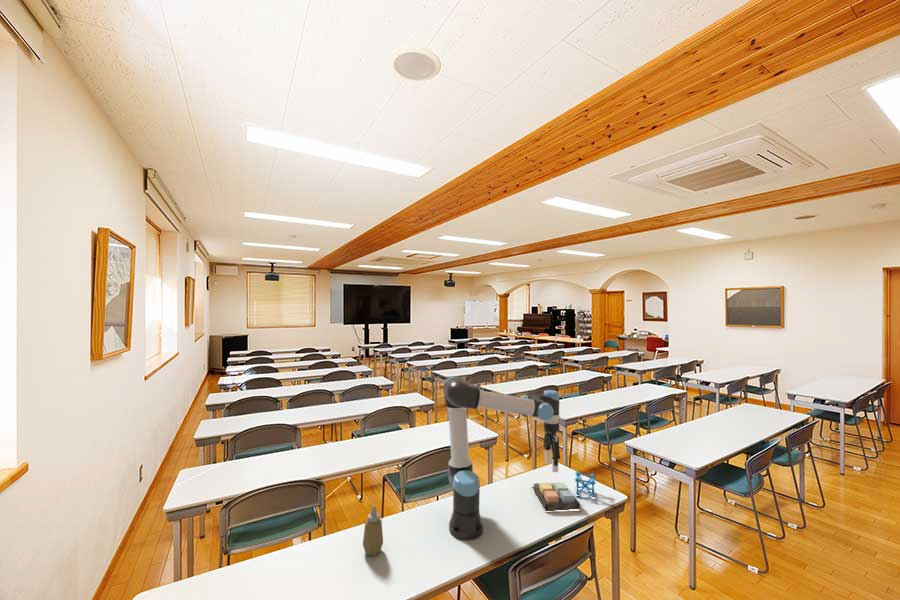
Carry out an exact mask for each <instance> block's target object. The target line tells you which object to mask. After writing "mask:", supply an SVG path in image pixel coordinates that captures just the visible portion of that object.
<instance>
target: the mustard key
mask: <svg viewBox="0 0 900 600" xmlns="http://www.w3.org/2000/svg"><path fill="white" fill-rule="evenodd" d="M546 483H547V482H546ZM550 483H551V482H548V483H547V484H539V490H540V492H541V493H542V495H544V491H553V488H552V486H551V485H550Z"/></svg>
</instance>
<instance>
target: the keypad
mask: <svg viewBox="0 0 900 600" xmlns="http://www.w3.org/2000/svg"><path fill="white" fill-rule="evenodd" d="M549 483H550V485H551V486H552V488H553V491H555V490H554V483H555V482H549ZM539 484H547V482H541V483H537V482H536V483H533V486H531V489H532V488H533V490H534V492H535V494H536V496H537V497H538V499H539V501H540V503H541V504H542V506H543V508H544V509H545V511H555V510H569V509H580V510H581V507H580V505H581V504H580V501H578V499H577V497H575V502H563V501H562V499H561V498H560V494H558V496H559V503H548V502H547V501H546V499H545V498H544V495H542V493H541V492H540V490H539ZM569 490H570V489H568V491H569ZM555 492H556V491H555ZM535 494H534V495H535ZM536 496H535V497H536ZM538 499H537V500H538ZM539 501H538V502H539ZM540 503H539V504H540ZM541 504H540V505H541ZM542 506H541V507H542ZM543 508H542V509H543ZM544 509H543V510H544ZM545 511H544V512H545Z"/></svg>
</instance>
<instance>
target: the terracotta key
mask: <svg viewBox="0 0 900 600" xmlns="http://www.w3.org/2000/svg"><path fill="white" fill-rule="evenodd" d="M544 498H545V499H546V501H547V502H548V503H559V496H558V494H557V493H556V492H555V491H544Z"/></svg>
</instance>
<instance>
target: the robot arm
mask: <svg viewBox="0 0 900 600" xmlns="http://www.w3.org/2000/svg"><path fill="white" fill-rule="evenodd" d="M442 386H443V387H442V392H443V395H444V406H445V408H446V409H448V423H449V424H448V425H449V441H450V457H451V458H450V459H449V460H448V471H447V478H448V482H449V484H450V489H451V491H452V495H453V496H452V497H453V499H452V500H453V501H452V503H453V504H452V505H453V506H452V507H453V508H452V509H453V510H452V513H451V516H450V520H449V523H448V530H449V533H450V535H451V536H453V537H455V538H456V539H459V540H465V541H471V540H476V539H478V538H479V537H480V536H482V535H483V533H484V522H483V519H482V516H481V513H480V491H481V490H480V488H481V484H480V483H481V482H480V478H479V475H478V474H477V473H475V472H474V469H473V468H474V467H473V466H474V465H473V460H472V459H471V458H470V455H469V454H470V453H469V439H468V438H469V436H468V420H467V409H470V410H478V409H484V410H485V409H487V410H492V411H497V412H498V411H499V412H504V413H510V414H517V415H523V416H529V417H534V418H539V419H540V420H543V421H544V422H543V430H544V438H543V447H544V452H545V454H544V458H545V459H544V461H545V462H544V464H551V466H552V467H551V471H552V473H559V460H561V453H560V452H561V451H560V438H559V437H558V436H557V433H558V432H559V431H560V418H561V415H560V402H561V401H560V393H559V391H557V390H551V389H547V390H544V391H543V394H539V395H537V394H536V395H535V394H534V395H533V394H532V395H531V394H530V395H528V394H527V395H521V396H520V397H519V396H514V395H507V394H504V393H503V394H502V393H497V392H492V391H488V390H487V391H485V390H482V389H481V388H480V387H476V386H473V385H470V384H468V383H467V382H466V380H465V379H463V378H462V377H459V376H451V377H449V378H447V379H446V380H445V381H444V383H443V385H442Z"/></svg>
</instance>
